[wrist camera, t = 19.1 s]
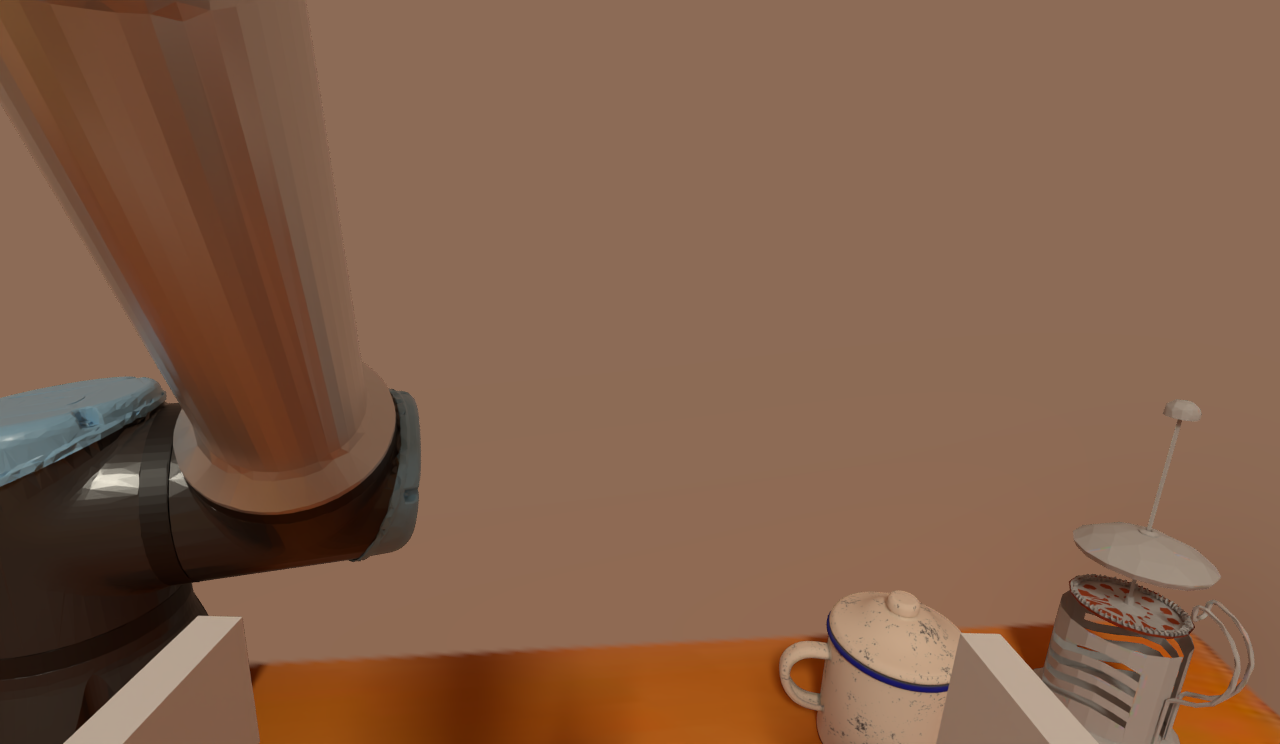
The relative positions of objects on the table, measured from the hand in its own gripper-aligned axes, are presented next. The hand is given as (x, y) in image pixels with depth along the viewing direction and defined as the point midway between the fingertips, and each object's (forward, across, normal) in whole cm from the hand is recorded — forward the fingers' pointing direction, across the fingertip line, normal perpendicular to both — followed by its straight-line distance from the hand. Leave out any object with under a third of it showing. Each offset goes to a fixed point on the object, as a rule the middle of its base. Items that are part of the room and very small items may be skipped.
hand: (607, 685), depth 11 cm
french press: (+26, +38, -27) cm, 53 cm away
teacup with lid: (+24, +18, -27) cm, 41 cm away
